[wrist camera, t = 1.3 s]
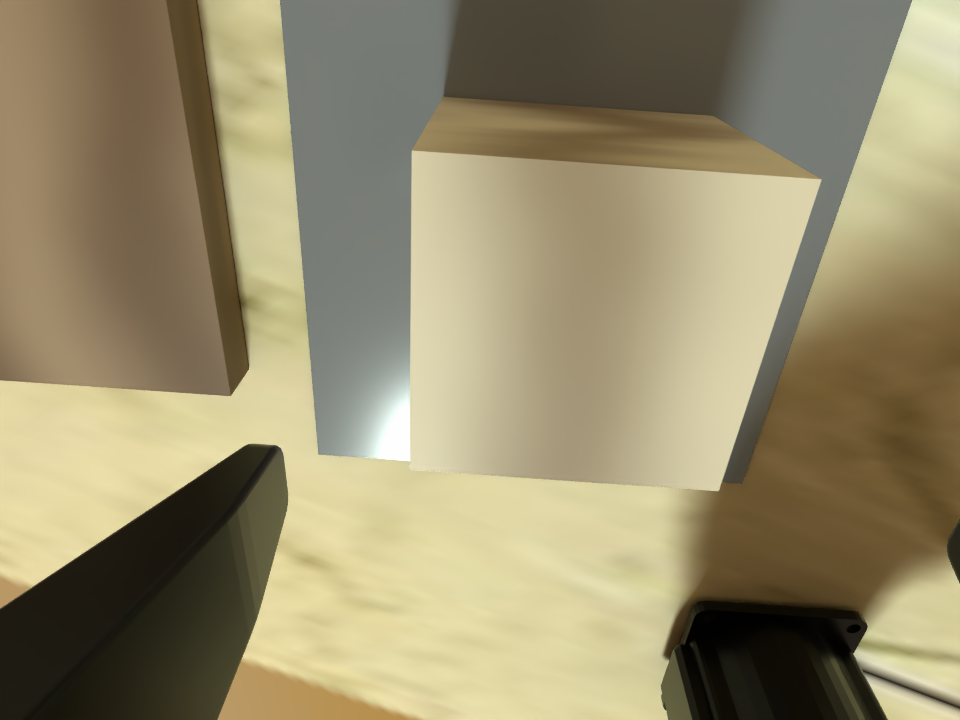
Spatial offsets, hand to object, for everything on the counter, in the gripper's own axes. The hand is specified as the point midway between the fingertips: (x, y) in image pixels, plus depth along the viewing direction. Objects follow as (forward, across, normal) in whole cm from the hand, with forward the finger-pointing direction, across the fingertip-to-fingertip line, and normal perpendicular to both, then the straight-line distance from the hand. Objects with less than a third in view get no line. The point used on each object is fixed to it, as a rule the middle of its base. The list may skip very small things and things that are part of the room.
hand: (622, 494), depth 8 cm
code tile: (+10, 0, 0) cm, 10 cm away
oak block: (+10, 0, 0) cm, 10 cm away
